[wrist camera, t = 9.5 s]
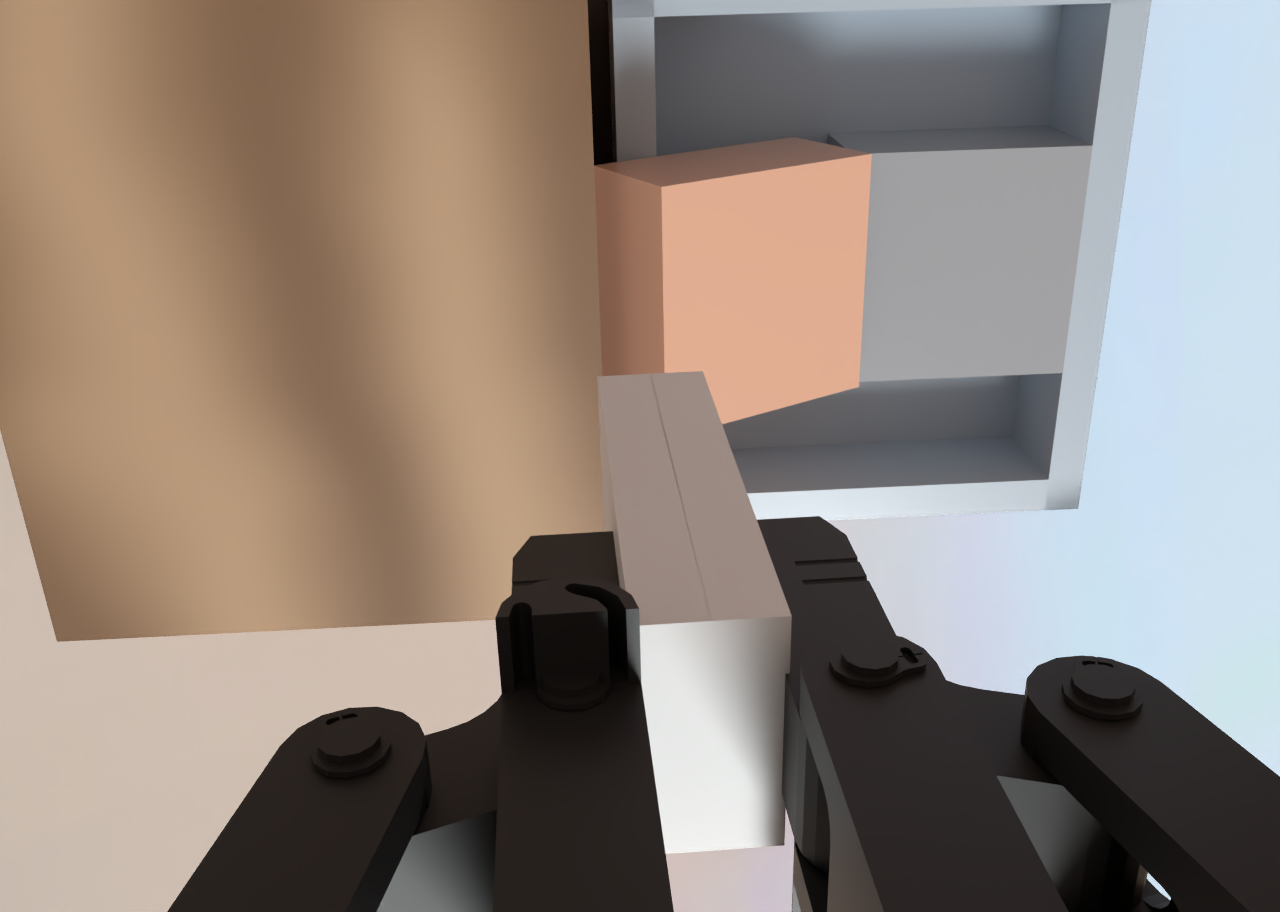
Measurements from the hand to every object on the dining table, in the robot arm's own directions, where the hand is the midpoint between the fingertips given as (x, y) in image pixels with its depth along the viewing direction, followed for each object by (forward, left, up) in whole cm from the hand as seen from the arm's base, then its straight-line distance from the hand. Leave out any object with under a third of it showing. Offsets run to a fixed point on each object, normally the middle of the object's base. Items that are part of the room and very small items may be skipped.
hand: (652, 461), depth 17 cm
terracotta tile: (+2, 0, -9) cm, 9 cm away
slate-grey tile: (+7, 0, -9) cm, 11 cm away
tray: (+5, 0, -12) cm, 13 cm away
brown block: (-7, 0, -12) cm, 14 cm away
